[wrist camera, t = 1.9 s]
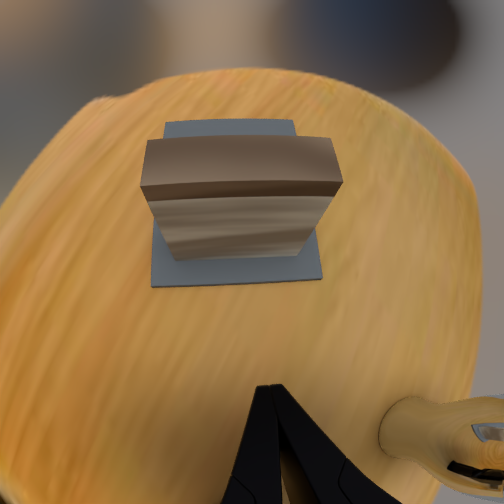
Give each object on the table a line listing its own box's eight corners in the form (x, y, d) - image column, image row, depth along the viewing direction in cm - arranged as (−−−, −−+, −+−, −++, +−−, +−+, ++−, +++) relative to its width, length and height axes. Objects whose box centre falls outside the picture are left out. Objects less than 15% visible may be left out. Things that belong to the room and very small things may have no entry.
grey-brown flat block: (296, 255, 24) (343, 181, 14) (175, 261, 23) (139, 186, 13) (292, 223, 25) (330, 138, 15) (176, 227, 24) (147, 140, 14)
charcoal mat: (320, 279, 24) (322, 277, 24) (152, 287, 23) (150, 286, 22) (291, 122, 30) (292, 119, 30) (166, 125, 29) (165, 122, 29)
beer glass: (367, 410, 20) (505, 438, 6) (428, 379, 22) (561, 368, 8) (379, 473, 18) (494, 530, 4) (437, 439, 19) (556, 458, 5)
